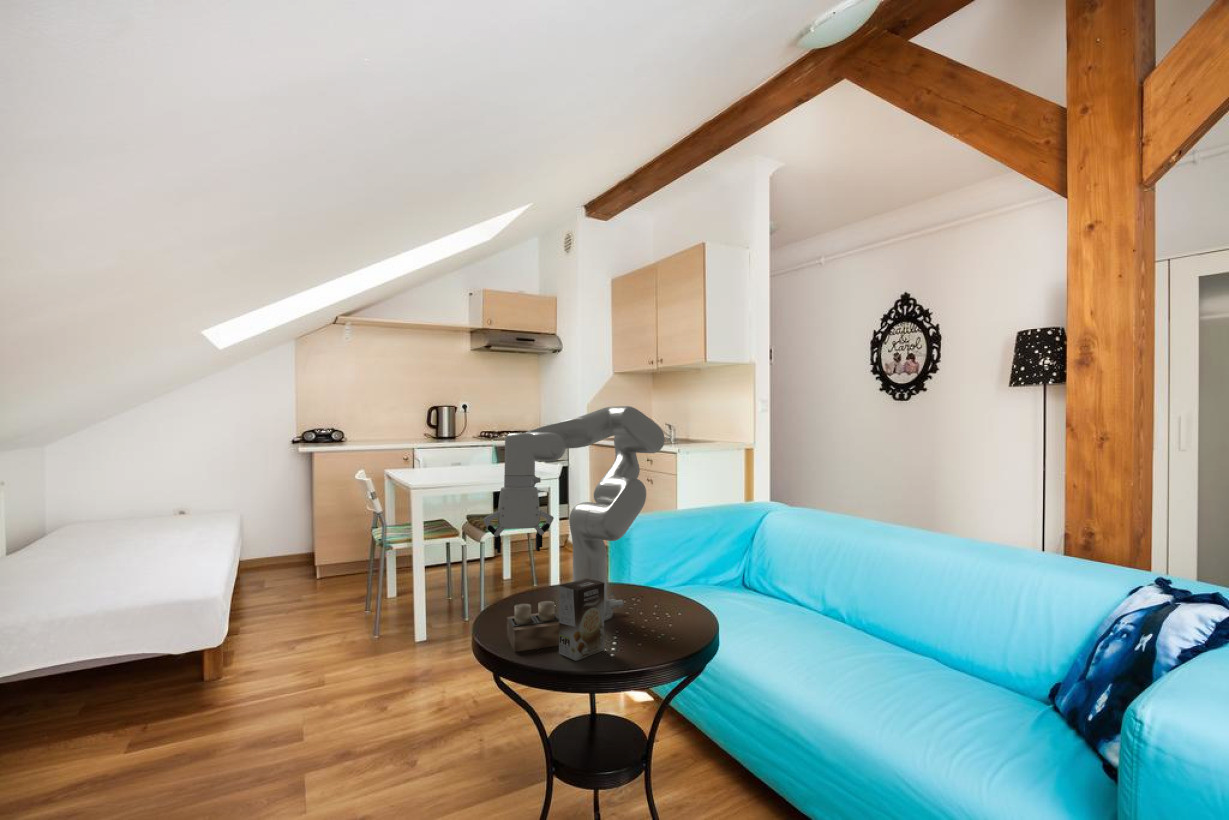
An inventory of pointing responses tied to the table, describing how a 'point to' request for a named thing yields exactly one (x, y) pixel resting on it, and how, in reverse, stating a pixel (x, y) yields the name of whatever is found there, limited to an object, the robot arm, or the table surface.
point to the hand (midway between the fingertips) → (518, 551)
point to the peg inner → (546, 611)
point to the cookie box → (581, 618)
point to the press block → (533, 633)
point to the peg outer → (522, 614)
